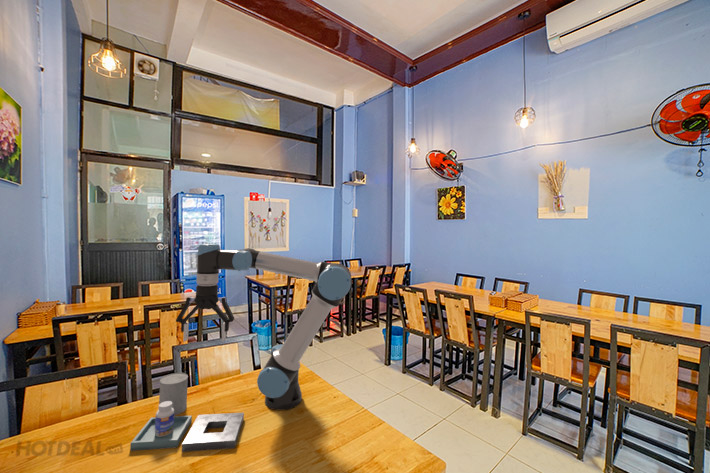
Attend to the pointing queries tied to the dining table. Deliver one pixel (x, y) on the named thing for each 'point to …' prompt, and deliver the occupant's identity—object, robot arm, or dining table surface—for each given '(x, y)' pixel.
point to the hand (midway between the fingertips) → (204, 340)
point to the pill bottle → (164, 419)
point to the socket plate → (211, 441)
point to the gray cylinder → (174, 391)
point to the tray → (151, 441)
